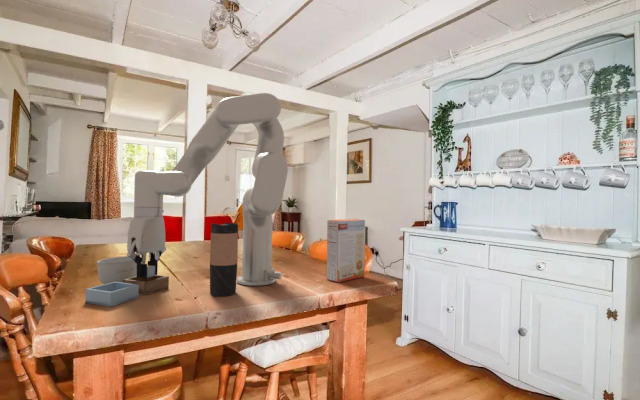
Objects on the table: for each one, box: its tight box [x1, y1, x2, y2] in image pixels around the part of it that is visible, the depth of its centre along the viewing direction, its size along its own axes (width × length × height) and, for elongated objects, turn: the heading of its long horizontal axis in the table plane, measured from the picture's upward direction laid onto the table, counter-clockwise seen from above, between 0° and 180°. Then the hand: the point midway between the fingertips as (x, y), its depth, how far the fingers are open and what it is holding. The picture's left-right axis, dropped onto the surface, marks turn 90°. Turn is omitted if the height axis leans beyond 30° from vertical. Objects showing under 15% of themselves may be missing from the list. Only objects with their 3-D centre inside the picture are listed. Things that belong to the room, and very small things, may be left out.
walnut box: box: [123, 274, 170, 296], centre depth 99 cm, size 8×8×4 cm
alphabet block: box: [146, 264, 155, 278], centre depth 99 cm, size 3×3×3 cm
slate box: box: [84, 282, 139, 308], centre depth 89 cm, size 8×8×4 cm
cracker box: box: [326, 218, 366, 283], centre depth 120 cm, size 14×6×21 cm, turn 133°
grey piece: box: [96, 255, 137, 285], centre depth 106 cm, size 14×11×8 cm
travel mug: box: [209, 222, 239, 298], centre depth 98 cm, size 8×8×20 cm
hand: (147, 275), depth 99 cm, fingers closed on alphabet block, 3 cm apart
